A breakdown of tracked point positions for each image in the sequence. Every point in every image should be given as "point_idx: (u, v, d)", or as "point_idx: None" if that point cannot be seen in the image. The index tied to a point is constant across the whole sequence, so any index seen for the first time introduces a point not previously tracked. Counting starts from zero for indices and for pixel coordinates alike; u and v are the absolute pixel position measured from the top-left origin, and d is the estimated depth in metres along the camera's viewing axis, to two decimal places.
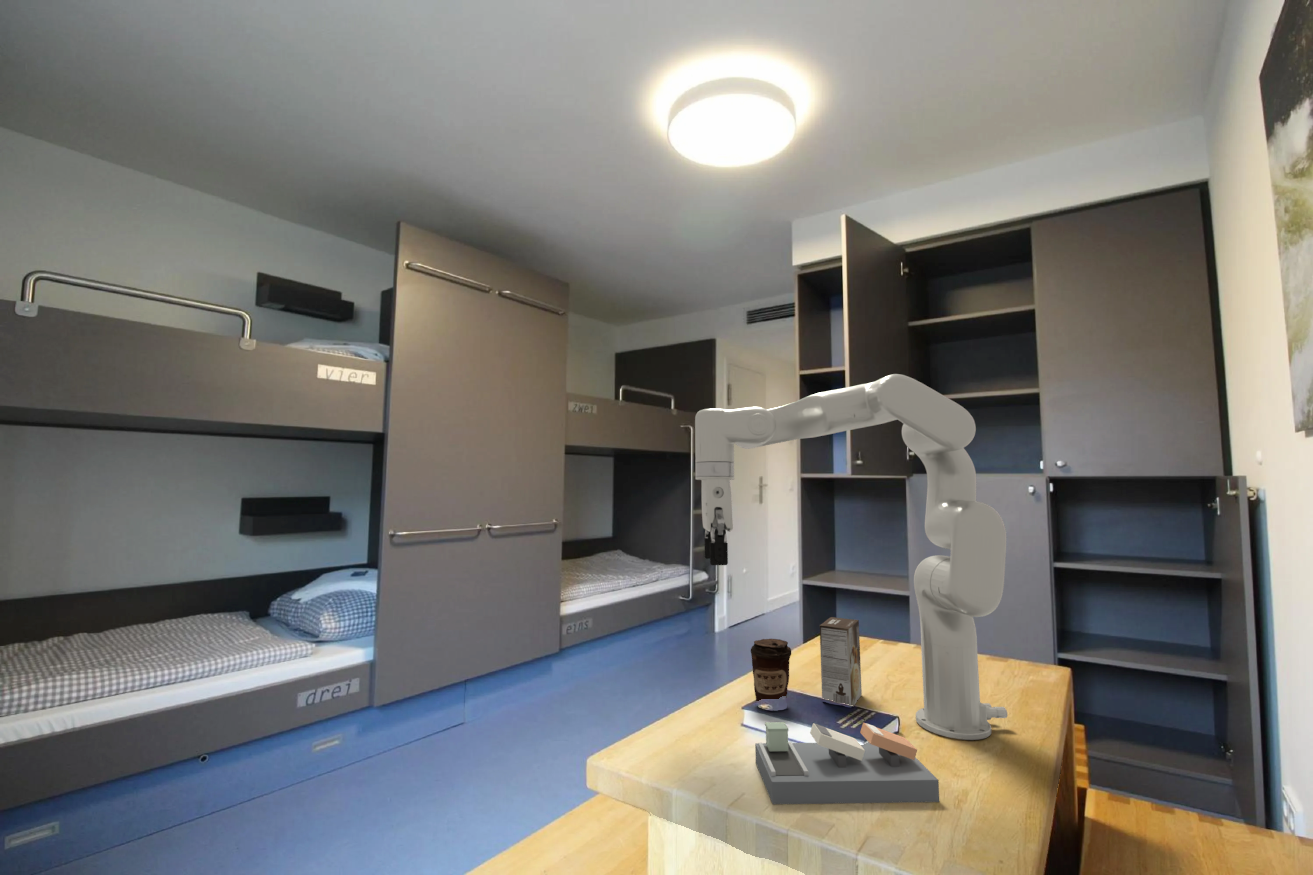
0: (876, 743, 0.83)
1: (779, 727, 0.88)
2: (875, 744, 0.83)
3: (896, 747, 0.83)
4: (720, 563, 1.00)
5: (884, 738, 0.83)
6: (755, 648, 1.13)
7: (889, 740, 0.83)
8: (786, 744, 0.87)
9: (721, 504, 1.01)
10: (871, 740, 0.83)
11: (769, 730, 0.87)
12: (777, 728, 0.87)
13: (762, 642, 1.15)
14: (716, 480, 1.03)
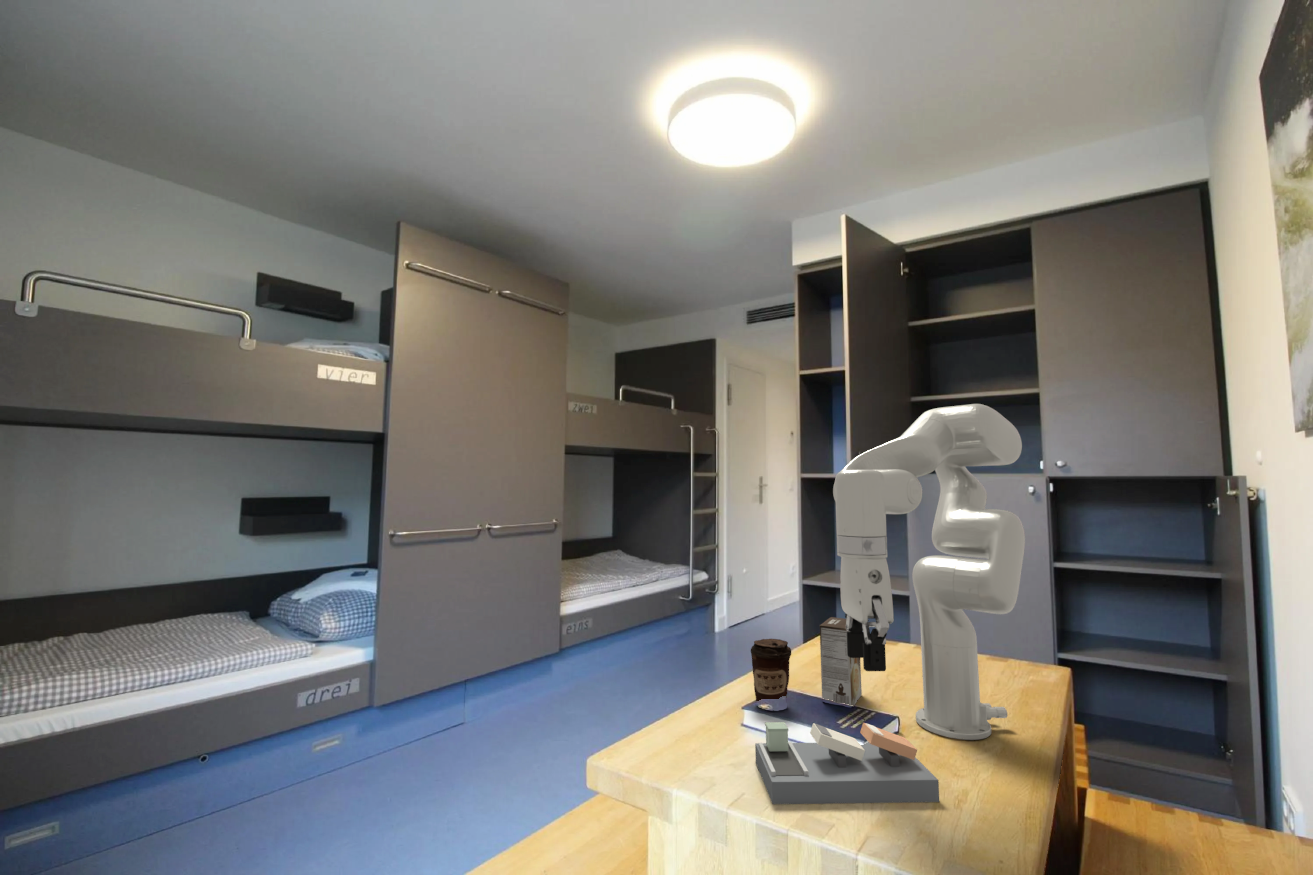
0: (876, 743, 0.83)
1: (779, 727, 0.88)
2: (875, 744, 0.83)
3: (896, 747, 0.83)
4: (877, 669, 0.83)
5: (884, 738, 0.83)
6: (755, 648, 1.13)
7: (889, 740, 0.83)
8: (786, 744, 0.87)
9: (880, 591, 0.82)
10: (871, 740, 0.83)
11: (769, 730, 0.87)
12: (777, 728, 0.87)
13: (762, 642, 1.15)
14: (872, 561, 0.83)
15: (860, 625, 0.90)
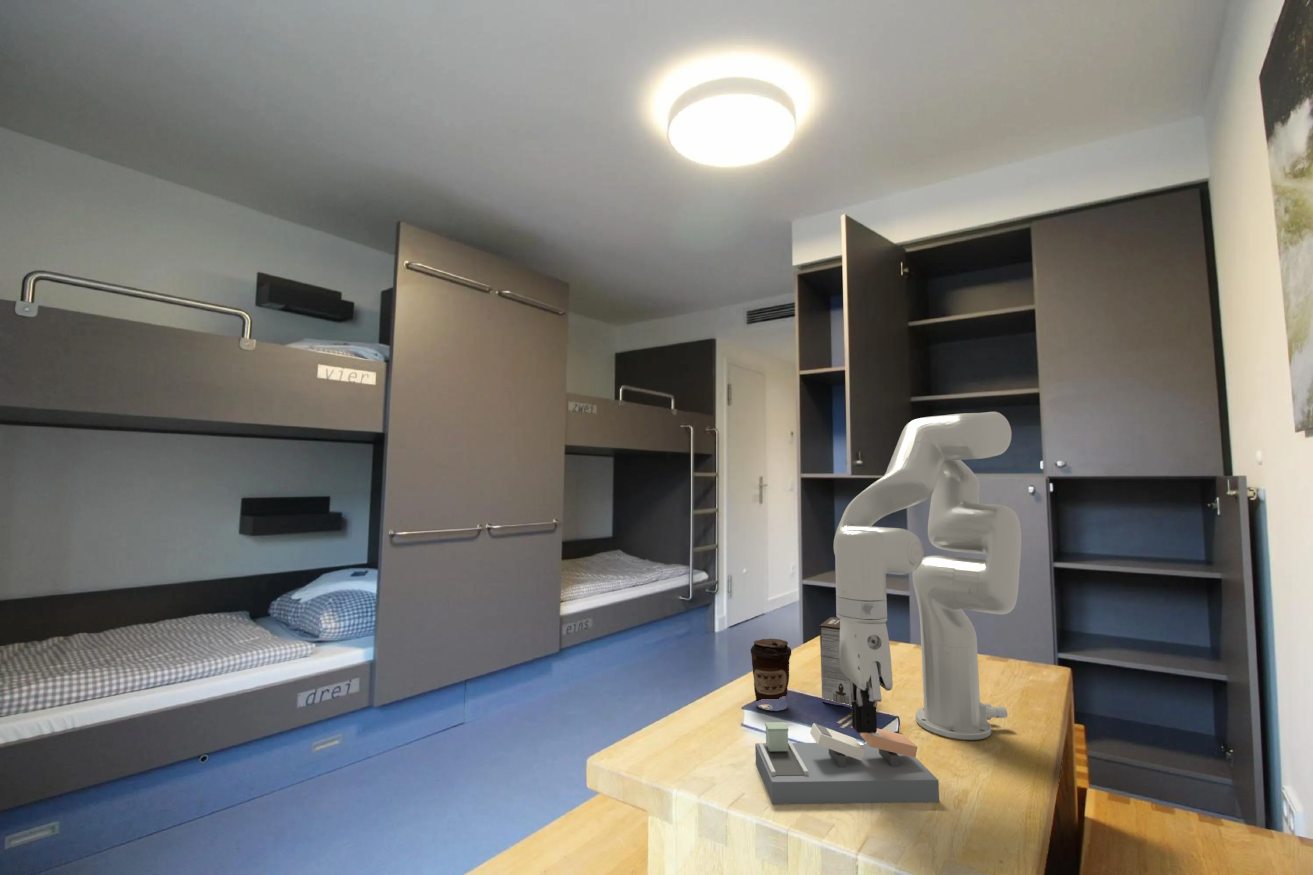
0: (876, 745, 0.83)
1: (779, 727, 0.88)
2: (875, 746, 0.83)
3: (896, 747, 0.83)
4: (868, 730, 0.84)
5: (883, 739, 0.83)
6: (755, 648, 1.13)
7: (888, 741, 0.83)
8: (786, 744, 0.87)
9: (879, 657, 0.81)
10: (871, 743, 0.83)
11: (769, 730, 0.87)
12: (777, 728, 0.87)
13: (762, 642, 1.15)
14: (871, 625, 0.82)
15: None
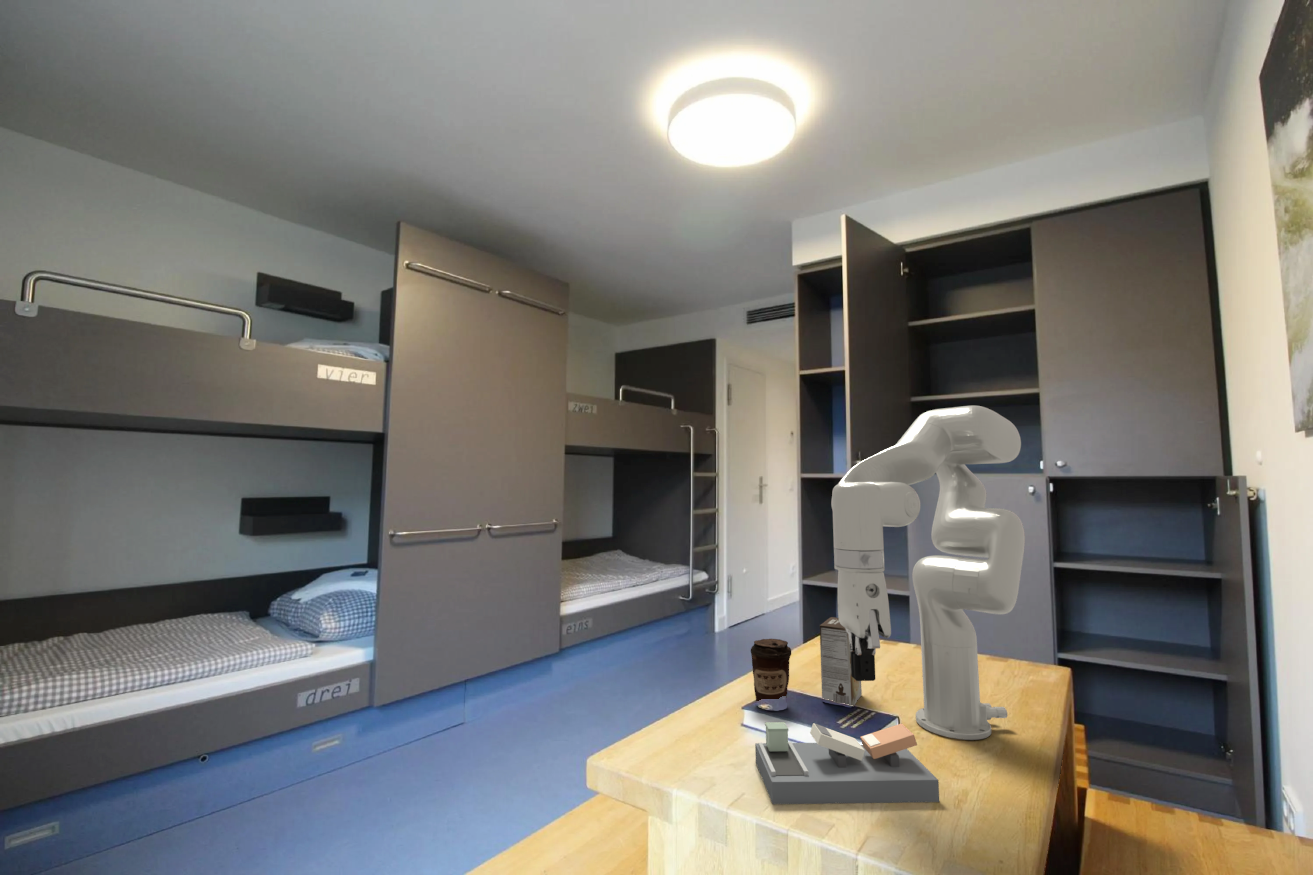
0: (878, 755, 0.83)
1: (779, 727, 0.88)
2: (878, 756, 0.83)
3: (896, 745, 0.83)
4: (867, 678, 0.85)
5: (881, 745, 0.83)
6: (755, 648, 1.13)
7: (887, 744, 0.83)
8: (786, 744, 0.87)
9: (877, 605, 0.82)
10: (872, 755, 0.83)
11: (769, 730, 0.87)
12: (777, 728, 0.87)
13: (762, 642, 1.15)
14: (869, 575, 0.83)
15: None
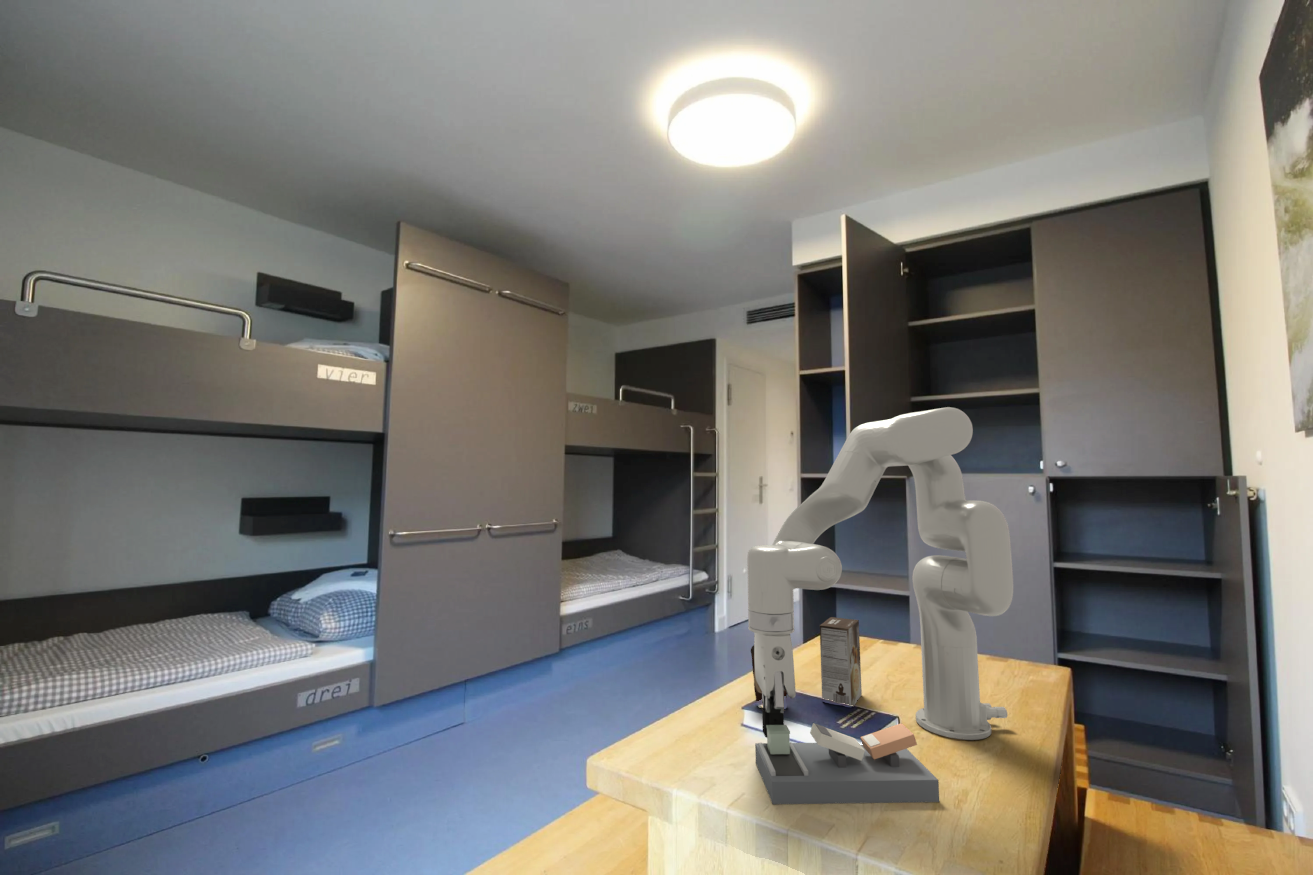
0: (878, 755, 0.83)
1: (781, 729, 0.87)
2: (878, 756, 0.83)
3: (896, 745, 0.83)
4: None
5: (881, 745, 0.83)
6: None
7: (886, 744, 0.83)
8: (788, 747, 0.86)
9: (782, 668, 0.86)
10: (873, 755, 0.83)
11: (770, 733, 0.86)
12: (778, 731, 0.86)
13: None
14: (775, 638, 0.88)
15: None
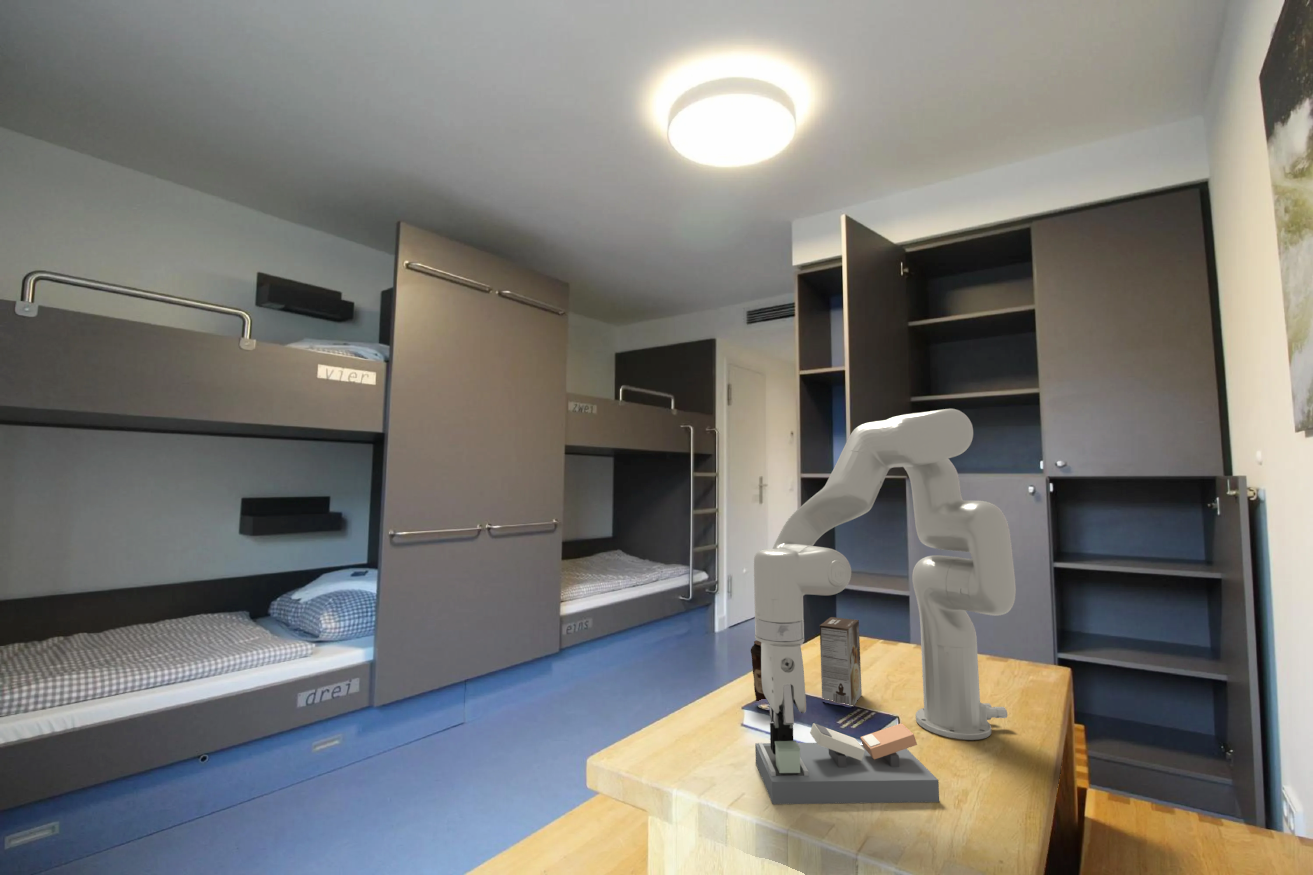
0: (878, 755, 0.83)
1: (790, 746, 0.81)
2: (878, 756, 0.83)
3: (896, 745, 0.83)
4: None
5: (881, 745, 0.83)
6: (755, 648, 1.13)
7: (886, 744, 0.83)
8: (798, 765, 0.80)
9: (792, 680, 0.81)
10: (873, 755, 0.83)
11: (779, 750, 0.80)
12: (788, 748, 0.81)
13: None
14: (784, 648, 0.82)
15: None
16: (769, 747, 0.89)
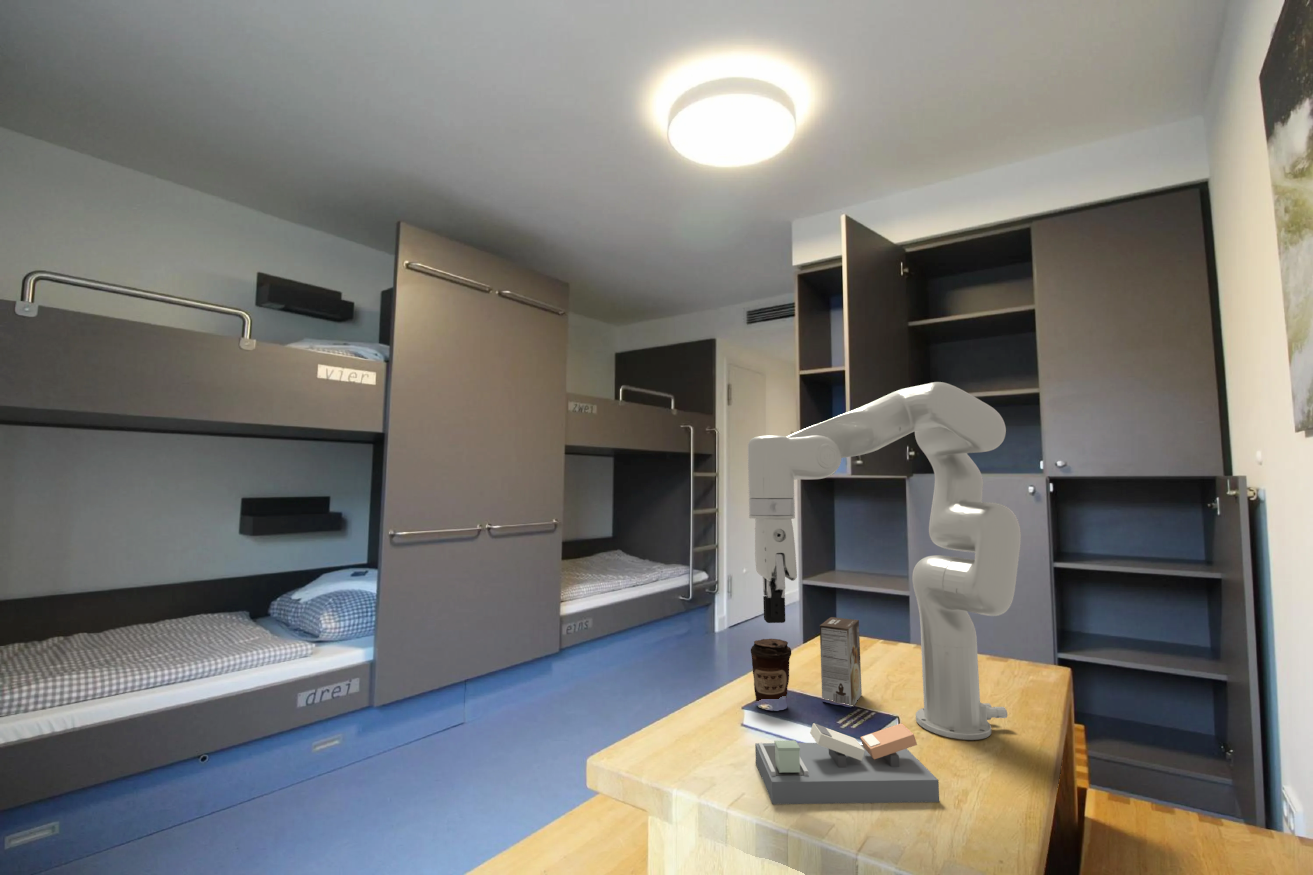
0: (878, 755, 0.83)
1: (790, 746, 0.81)
2: (878, 756, 0.83)
3: (896, 745, 0.83)
4: (777, 620, 0.90)
5: (881, 745, 0.83)
6: (755, 648, 1.13)
7: (886, 744, 0.83)
8: (798, 764, 0.80)
9: (783, 549, 0.87)
10: (873, 755, 0.83)
11: (779, 749, 0.81)
12: (788, 747, 0.81)
13: (762, 642, 1.15)
14: (776, 521, 0.88)
15: None
16: (769, 747, 0.89)
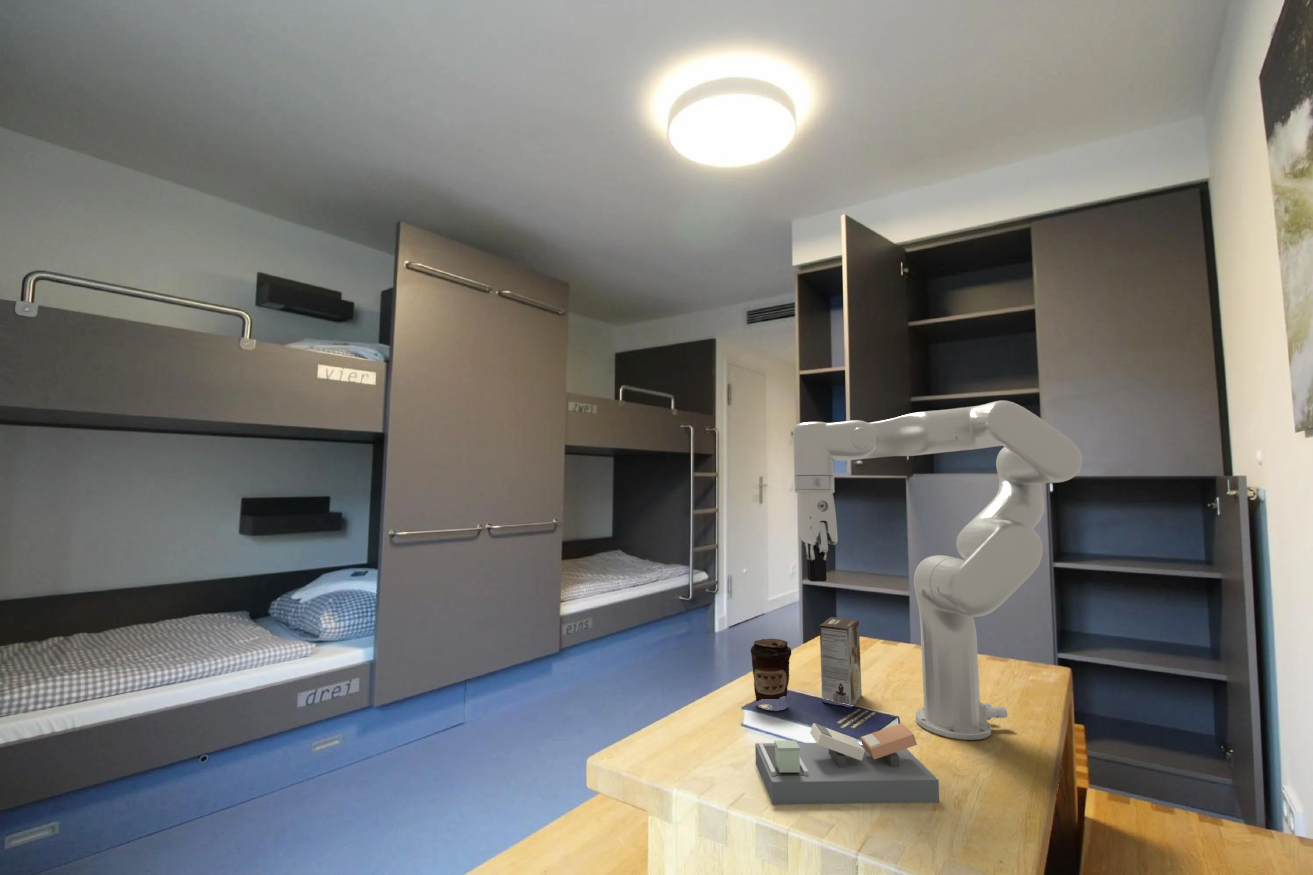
0: (878, 755, 0.83)
1: (790, 746, 0.81)
2: (878, 756, 0.83)
3: (896, 745, 0.83)
4: (819, 579, 1.05)
5: (881, 745, 0.83)
6: (755, 648, 1.13)
7: (886, 744, 0.83)
8: (798, 764, 0.80)
9: (826, 518, 1.02)
10: (873, 755, 0.83)
11: (779, 749, 0.81)
12: (788, 747, 0.81)
13: (762, 642, 1.15)
14: (820, 494, 1.03)
15: None
16: (769, 747, 0.89)
